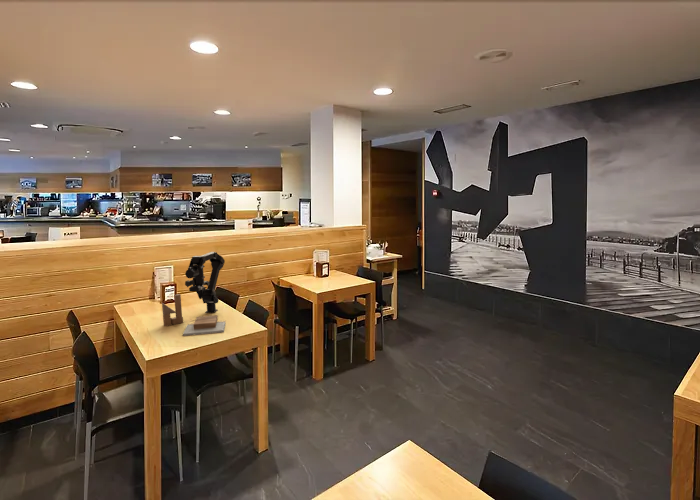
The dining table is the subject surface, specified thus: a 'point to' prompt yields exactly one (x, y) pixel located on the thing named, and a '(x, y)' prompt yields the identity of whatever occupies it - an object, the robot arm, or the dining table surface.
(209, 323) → the walnut plank
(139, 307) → the dining table surface
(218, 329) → the slate floor board
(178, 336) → the dining table surface
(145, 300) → the dining table surface
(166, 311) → the wooden block
